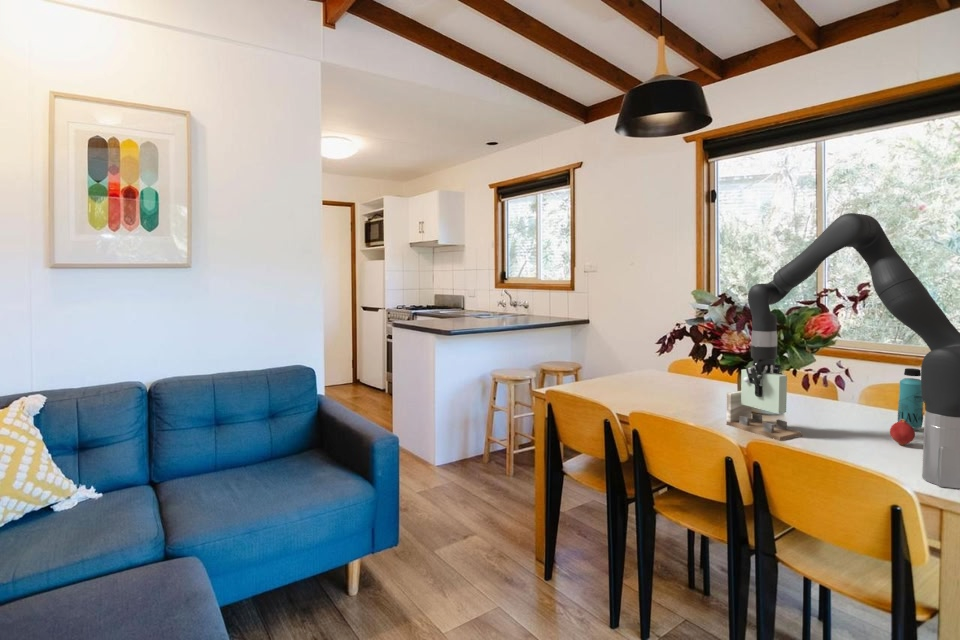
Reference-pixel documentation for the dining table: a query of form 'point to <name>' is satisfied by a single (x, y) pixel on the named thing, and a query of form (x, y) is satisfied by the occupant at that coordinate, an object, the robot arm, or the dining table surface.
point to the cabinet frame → (755, 420)
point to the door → (765, 392)
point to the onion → (902, 432)
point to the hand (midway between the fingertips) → (763, 395)
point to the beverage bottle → (911, 399)
